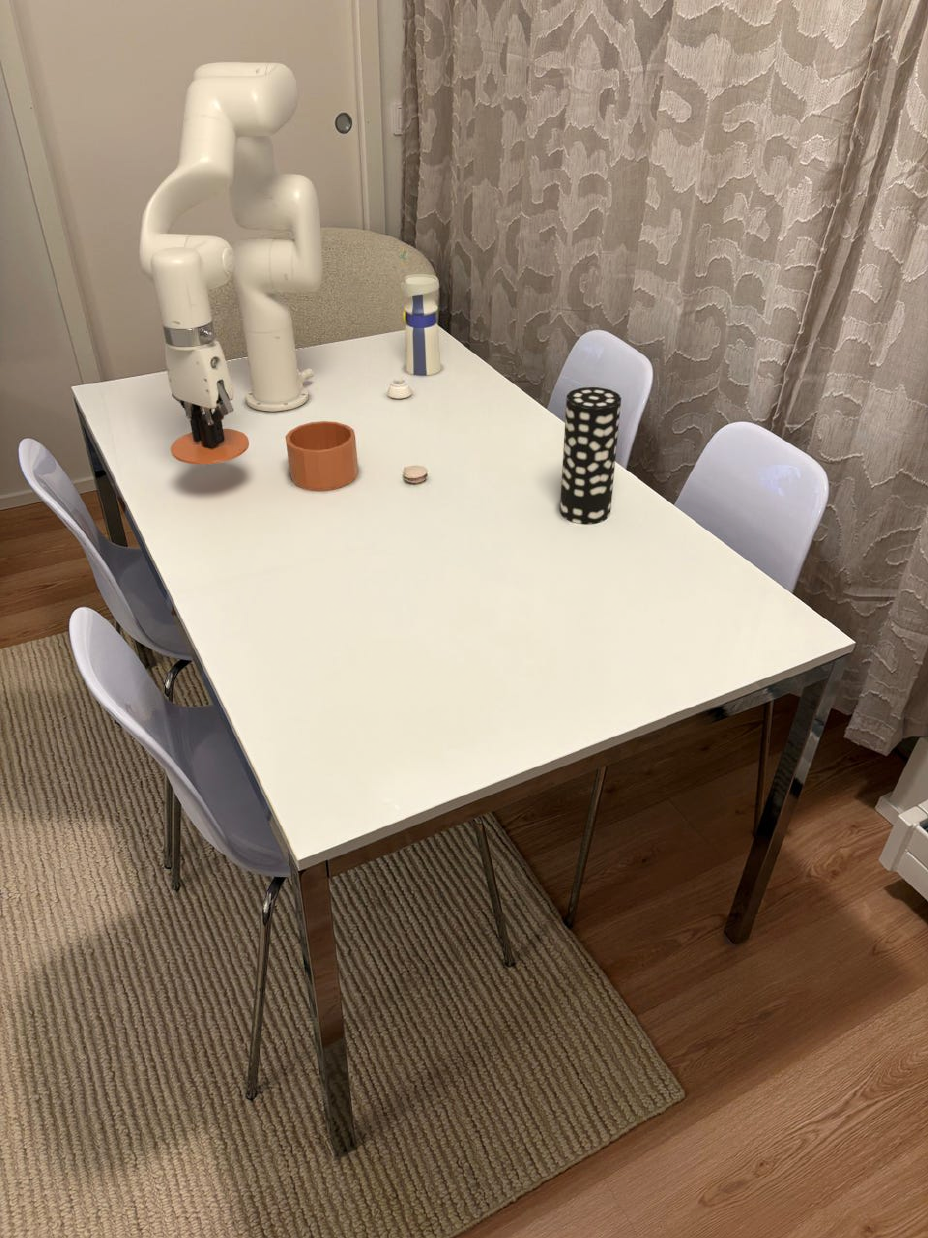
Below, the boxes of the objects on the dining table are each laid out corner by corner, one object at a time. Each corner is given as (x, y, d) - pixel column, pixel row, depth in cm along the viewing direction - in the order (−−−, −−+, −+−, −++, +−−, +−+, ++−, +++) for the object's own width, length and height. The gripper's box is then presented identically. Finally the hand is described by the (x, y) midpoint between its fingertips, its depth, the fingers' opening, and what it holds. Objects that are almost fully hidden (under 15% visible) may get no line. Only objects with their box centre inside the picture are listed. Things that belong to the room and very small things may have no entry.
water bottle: (399, 375, 202) (393, 255, 187) (408, 360, 209) (402, 243, 194) (437, 377, 201) (433, 257, 186) (444, 362, 208) (441, 245, 193)
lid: (211, 427, 165) (205, 395, 161) (265, 445, 159) (260, 411, 155) (155, 455, 156) (147, 421, 152) (210, 475, 150) (204, 440, 147)
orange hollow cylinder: (320, 453, 173) (316, 415, 168) (371, 469, 168) (368, 431, 163) (277, 479, 165) (271, 440, 160) (329, 497, 160) (324, 457, 155)
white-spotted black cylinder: (616, 504, 157) (628, 392, 145) (601, 528, 151) (611, 412, 139) (569, 494, 160) (577, 383, 148) (552, 517, 154) (558, 403, 142)
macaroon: (413, 488, 162) (412, 475, 160) (395, 478, 165) (394, 465, 163) (432, 480, 164) (432, 467, 163) (414, 470, 167) (413, 457, 166)
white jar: (386, 400, 192) (410, 400, 192) (385, 386, 190) (410, 386, 190) (388, 390, 196) (412, 390, 196) (387, 376, 194) (411, 376, 194)
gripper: (244, 335, 145) (261, 444, 155) (171, 317, 152) (191, 422, 163) (209, 350, 139) (228, 462, 150) (135, 330, 147) (158, 438, 158)
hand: (209, 440), depth 156 cm, fingers closed on lid, 2 cm apart
